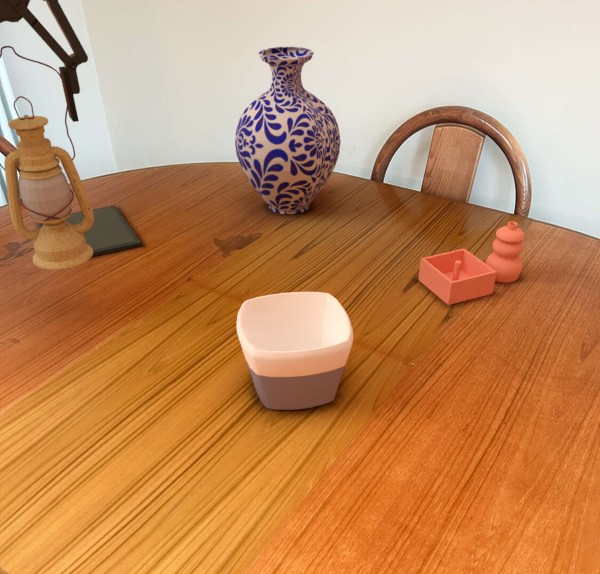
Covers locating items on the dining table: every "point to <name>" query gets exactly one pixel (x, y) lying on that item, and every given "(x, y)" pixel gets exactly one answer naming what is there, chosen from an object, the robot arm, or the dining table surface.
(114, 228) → the placemat
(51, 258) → the lantern
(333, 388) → the bowl
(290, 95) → the vase
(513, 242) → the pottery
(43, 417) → the dining table surface
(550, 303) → the dining table surface
